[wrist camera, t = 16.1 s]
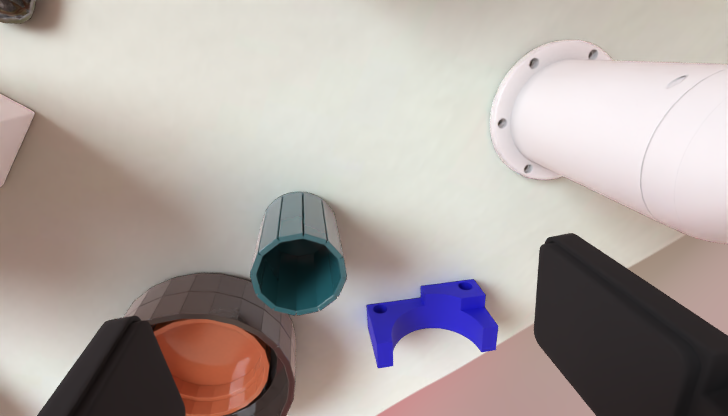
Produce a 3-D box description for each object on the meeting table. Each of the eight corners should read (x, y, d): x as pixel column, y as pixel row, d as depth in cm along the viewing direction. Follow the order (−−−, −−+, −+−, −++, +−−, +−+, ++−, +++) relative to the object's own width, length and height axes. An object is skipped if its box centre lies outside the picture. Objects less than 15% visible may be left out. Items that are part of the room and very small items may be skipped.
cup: (329, 185, 35) (338, 226, 27) (340, 250, 38) (351, 305, 30) (254, 198, 35) (240, 243, 27) (271, 263, 38) (262, 322, 29)
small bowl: (257, 282, 38) (252, 307, 34) (282, 373, 43) (280, 403, 39) (130, 306, 37) (111, 334, 33) (170, 396, 42) (157, 429, 38)
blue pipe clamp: (473, 279, 42) (499, 313, 37) (471, 312, 44) (495, 350, 38) (366, 293, 41) (376, 331, 35) (367, 327, 42) (377, 368, 37)
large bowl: (277, 256, 37) (272, 295, 31) (308, 384, 44) (309, 436, 38) (92, 289, 36) (51, 337, 30) (154, 417, 43) (130, 477, 37)
